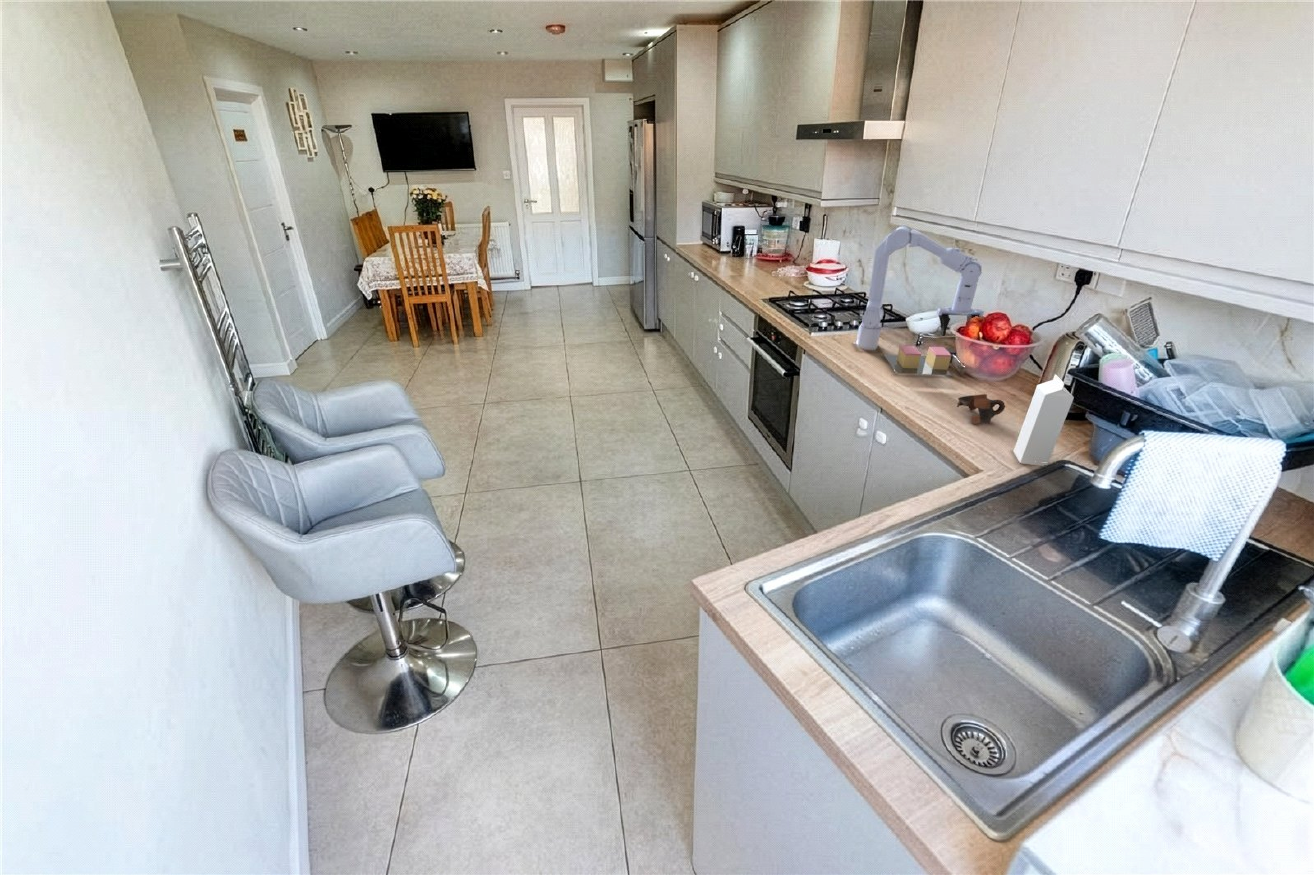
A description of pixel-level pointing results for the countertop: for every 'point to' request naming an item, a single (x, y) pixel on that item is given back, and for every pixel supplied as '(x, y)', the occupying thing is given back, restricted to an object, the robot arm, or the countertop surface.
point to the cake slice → (938, 358)
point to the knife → (955, 360)
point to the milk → (1043, 422)
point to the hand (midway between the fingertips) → (954, 335)
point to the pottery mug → (981, 407)
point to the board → (922, 368)
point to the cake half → (908, 357)
